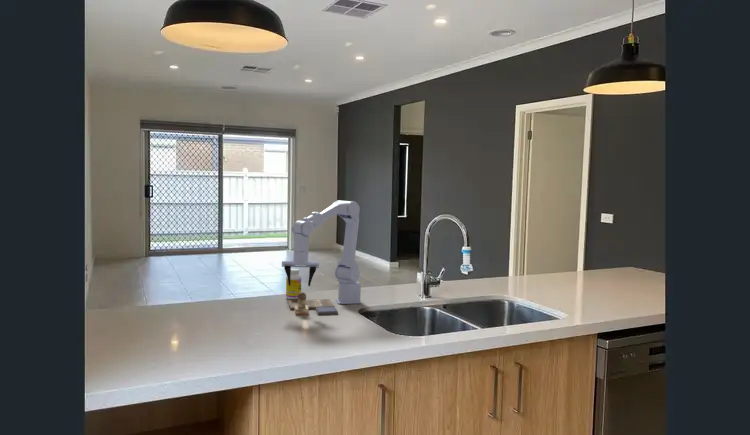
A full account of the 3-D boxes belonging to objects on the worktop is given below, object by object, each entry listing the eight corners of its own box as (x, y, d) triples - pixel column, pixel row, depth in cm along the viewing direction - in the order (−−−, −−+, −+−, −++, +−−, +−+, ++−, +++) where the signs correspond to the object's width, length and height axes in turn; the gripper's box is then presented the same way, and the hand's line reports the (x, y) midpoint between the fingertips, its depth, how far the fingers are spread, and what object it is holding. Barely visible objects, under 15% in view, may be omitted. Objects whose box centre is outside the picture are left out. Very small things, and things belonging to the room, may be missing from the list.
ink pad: (334, 309, 219) (334, 306, 219) (338, 314, 211) (338, 311, 211) (315, 310, 217) (315, 307, 217) (317, 315, 209) (317, 312, 209)
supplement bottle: (299, 300, 233) (300, 270, 232) (284, 299, 233) (285, 270, 232) (302, 296, 240) (302, 268, 239) (287, 296, 240) (287, 267, 239)
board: (329, 301, 232) (329, 298, 232) (334, 308, 220) (334, 306, 220) (287, 302, 228) (288, 299, 228) (290, 310, 216) (290, 307, 216)
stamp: (307, 311, 215) (307, 290, 214) (308, 314, 210) (308, 293, 209) (294, 311, 214) (294, 291, 213) (295, 315, 209) (296, 293, 208)
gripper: (282, 251, 205) (280, 286, 206) (320, 253, 208) (318, 287, 208) (282, 249, 212) (280, 283, 213) (319, 251, 215) (317, 284, 215)
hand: (299, 285), depth 211 cm, fingers open, 7 cm apart
